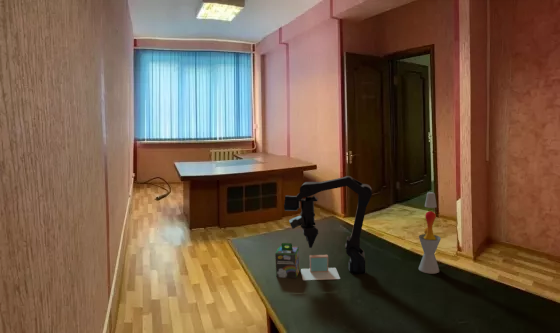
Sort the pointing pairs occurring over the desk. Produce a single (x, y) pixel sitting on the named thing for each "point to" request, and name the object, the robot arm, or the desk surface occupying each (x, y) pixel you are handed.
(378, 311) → the desk surface
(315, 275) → the board
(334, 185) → the robot arm
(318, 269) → the block
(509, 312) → the desk surface
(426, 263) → the lava lamp
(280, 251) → the chalk box
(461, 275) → the desk surface
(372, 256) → the desk surface
